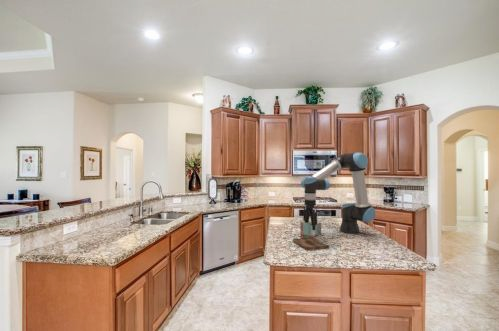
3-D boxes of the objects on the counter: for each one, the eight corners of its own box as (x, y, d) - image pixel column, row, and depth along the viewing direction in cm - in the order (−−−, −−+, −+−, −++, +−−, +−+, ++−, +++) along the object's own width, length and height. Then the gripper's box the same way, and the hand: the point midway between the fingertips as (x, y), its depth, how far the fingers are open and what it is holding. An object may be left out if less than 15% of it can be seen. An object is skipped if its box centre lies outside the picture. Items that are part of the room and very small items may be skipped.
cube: (311, 232, 177) (311, 222, 177) (317, 234, 171) (317, 224, 171) (302, 232, 175) (302, 222, 175) (307, 235, 168) (308, 224, 169)
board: (312, 240, 185) (312, 237, 185) (329, 248, 166) (329, 245, 166) (292, 241, 180) (292, 239, 180) (307, 250, 161) (307, 247, 161)
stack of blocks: (314, 232, 207) (314, 217, 207) (321, 233, 203) (321, 218, 203) (300, 237, 191) (300, 221, 191) (307, 239, 187) (307, 222, 187)
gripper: (298, 197, 182) (298, 230, 181) (313, 201, 163) (312, 237, 162) (307, 197, 184) (307, 229, 183) (323, 201, 165) (323, 236, 164)
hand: (309, 233), depth 173 cm, fingers closed on cube, 7 cm apart
